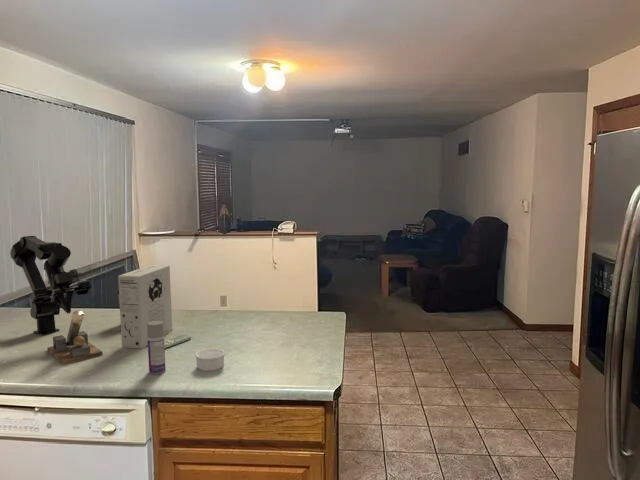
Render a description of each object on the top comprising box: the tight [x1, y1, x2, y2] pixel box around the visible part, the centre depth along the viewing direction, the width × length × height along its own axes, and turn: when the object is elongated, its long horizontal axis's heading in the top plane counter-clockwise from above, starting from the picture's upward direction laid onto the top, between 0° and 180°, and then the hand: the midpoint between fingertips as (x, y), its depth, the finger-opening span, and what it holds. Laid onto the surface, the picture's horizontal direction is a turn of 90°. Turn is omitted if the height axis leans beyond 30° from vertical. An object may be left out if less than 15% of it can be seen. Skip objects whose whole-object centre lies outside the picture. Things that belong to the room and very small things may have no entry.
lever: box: [66, 310, 84, 346], centre depth 169 cm, size 3×4×16 cm
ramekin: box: [195, 347, 226, 372], centre depth 158 cm, size 9×9×4 cm
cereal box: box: [117, 264, 173, 350], centre depth 184 cm, size 22×8×25 cm, turn 168°
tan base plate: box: [46, 330, 103, 365], centre depth 170 cm, size 17×12×7 cm
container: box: [147, 321, 167, 375], centre depth 153 cm, size 5×5×15 cm
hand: (69, 312), depth 177 cm, fingers closed
